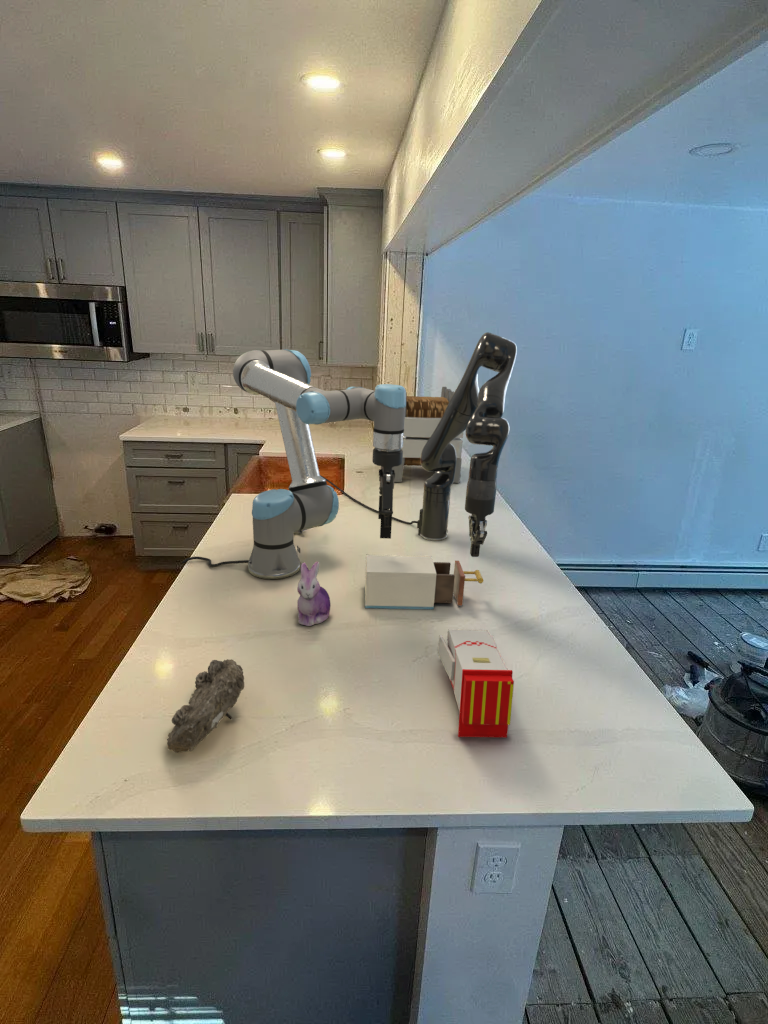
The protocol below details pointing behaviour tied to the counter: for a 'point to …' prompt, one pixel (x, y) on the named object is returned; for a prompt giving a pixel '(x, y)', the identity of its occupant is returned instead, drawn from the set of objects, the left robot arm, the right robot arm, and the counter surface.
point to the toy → (478, 682)
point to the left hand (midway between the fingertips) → (384, 528)
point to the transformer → (425, 430)
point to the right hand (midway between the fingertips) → (474, 555)
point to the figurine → (312, 597)
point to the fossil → (206, 705)
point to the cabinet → (399, 582)
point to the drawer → (452, 582)
